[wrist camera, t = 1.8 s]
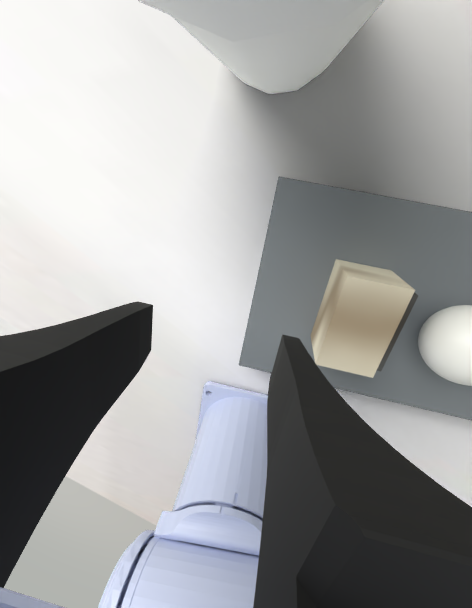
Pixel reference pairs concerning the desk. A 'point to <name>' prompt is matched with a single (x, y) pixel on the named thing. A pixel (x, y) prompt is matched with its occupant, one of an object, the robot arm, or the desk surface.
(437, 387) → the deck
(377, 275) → the cream rectangular block
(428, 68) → the desk surface
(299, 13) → the foam cup
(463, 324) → the ball
